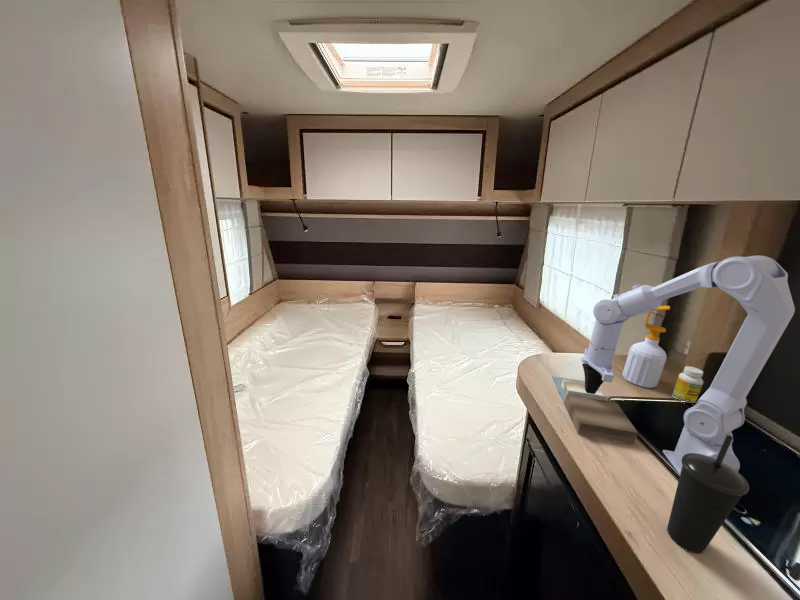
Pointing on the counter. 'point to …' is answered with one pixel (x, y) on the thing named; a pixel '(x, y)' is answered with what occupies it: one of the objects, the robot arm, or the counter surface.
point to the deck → (600, 419)
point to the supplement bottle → (688, 384)
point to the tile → (579, 390)
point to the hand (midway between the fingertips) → (589, 392)
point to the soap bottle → (646, 358)
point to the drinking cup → (704, 498)
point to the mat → (558, 384)
